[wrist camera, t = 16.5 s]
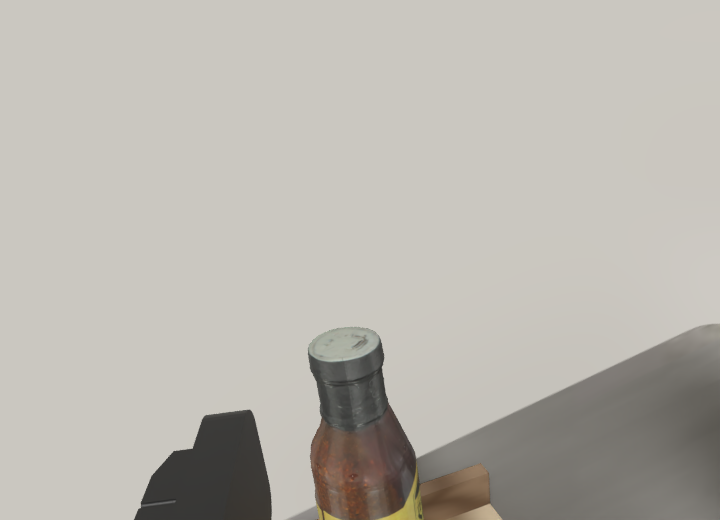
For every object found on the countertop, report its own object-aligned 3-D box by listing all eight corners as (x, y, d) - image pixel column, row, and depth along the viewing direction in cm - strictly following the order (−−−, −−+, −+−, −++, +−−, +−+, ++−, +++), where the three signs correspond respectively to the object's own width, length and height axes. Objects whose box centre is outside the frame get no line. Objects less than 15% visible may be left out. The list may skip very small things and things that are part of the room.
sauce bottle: (454, 624, 37) (433, 347, 30) (369, 682, 34) (325, 392, 27) (396, 554, 42) (368, 307, 35) (319, 599, 39) (272, 340, 32)
